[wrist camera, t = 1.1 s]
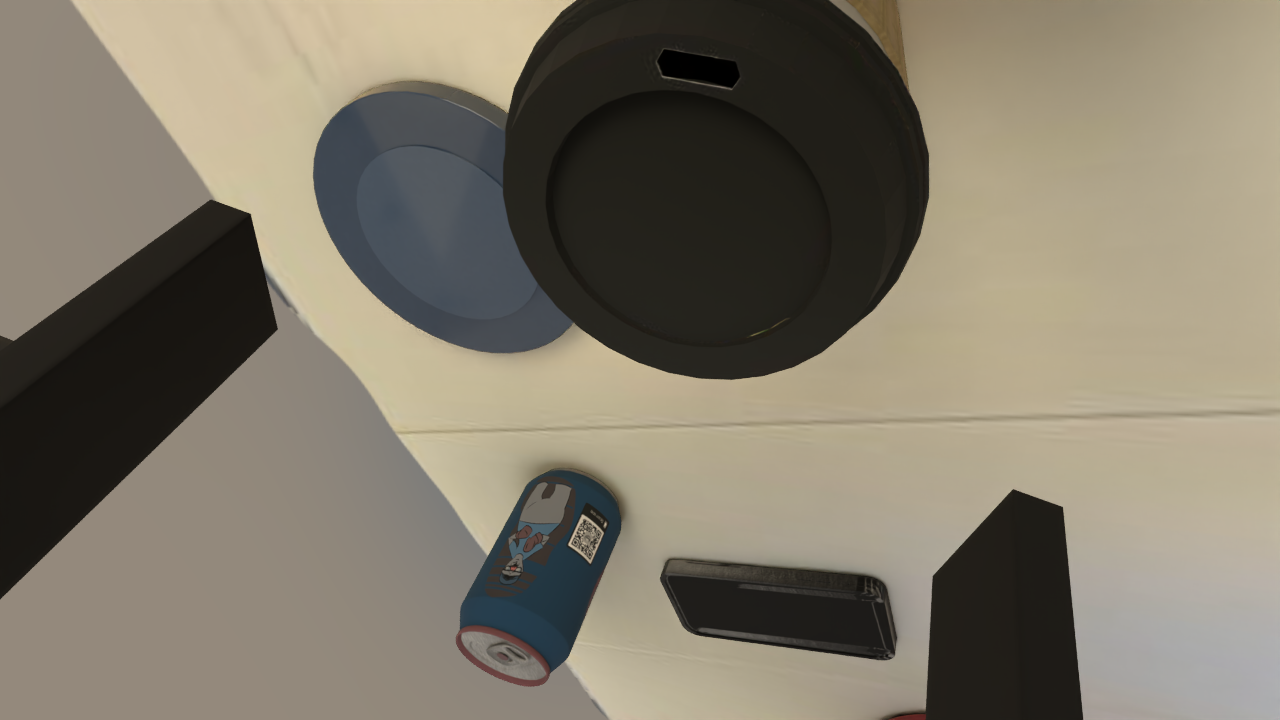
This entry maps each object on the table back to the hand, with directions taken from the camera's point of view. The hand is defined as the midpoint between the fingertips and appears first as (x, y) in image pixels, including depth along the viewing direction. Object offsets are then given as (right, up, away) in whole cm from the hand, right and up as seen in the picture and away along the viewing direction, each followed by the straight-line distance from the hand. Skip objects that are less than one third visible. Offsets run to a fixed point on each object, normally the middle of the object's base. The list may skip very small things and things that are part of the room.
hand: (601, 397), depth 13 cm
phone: (+10, -16, +39) cm, 43 cm away
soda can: (-3, -8, +39) cm, 40 cm away
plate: (-9, +7, +26) cm, 28 cm away
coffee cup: (+6, +13, +14) cm, 20 cm away
